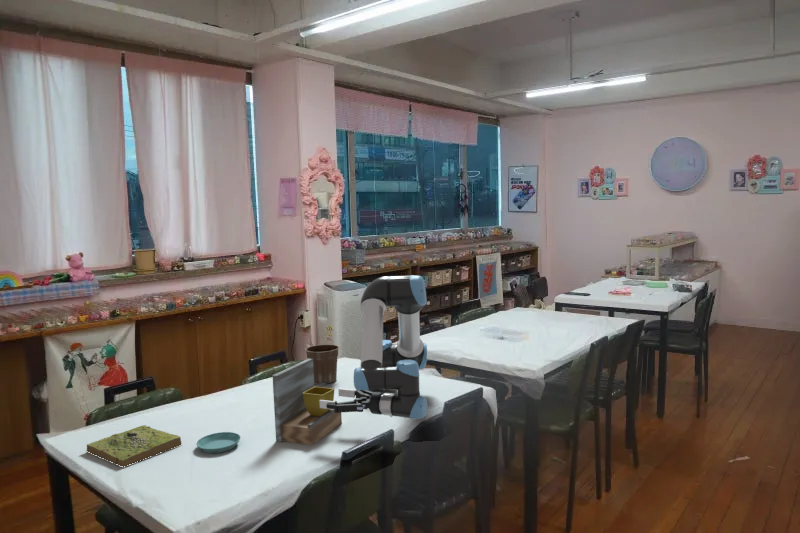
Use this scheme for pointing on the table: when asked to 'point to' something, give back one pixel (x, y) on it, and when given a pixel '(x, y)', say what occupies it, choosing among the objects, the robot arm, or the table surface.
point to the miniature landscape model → (133, 445)
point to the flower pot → (317, 399)
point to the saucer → (218, 442)
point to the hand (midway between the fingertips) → (329, 397)
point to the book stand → (299, 407)
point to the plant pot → (323, 362)
